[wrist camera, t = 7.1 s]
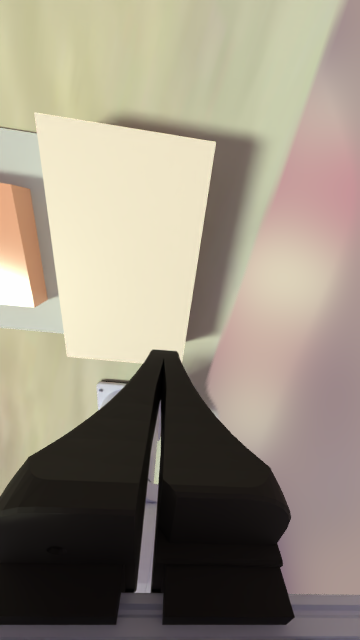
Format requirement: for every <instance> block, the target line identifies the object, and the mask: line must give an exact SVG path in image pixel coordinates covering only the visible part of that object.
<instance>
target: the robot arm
mask: <svg viewBox="0 0 360 640" xmlns="http://www.w3.org/2000/svg"><path fill="white" fill-rule="evenodd" d="M97 399H98V411H97V412H96V413H95V414H93V415H92V416H91V417H90V418H88V419H87V420H85V421H84V422H83V423H81V424H80V425H79V426H77V427H76V428H74V429H73V430H72V431H70V432H69V433H67V434H66V435H64V436H63V437H61V438H60V439H58V440H56V441H55V442H53V443H52V444H50V445H48V446H47V447H45V448H43V449H42V450H40V451H38V452H37V453H35V454H33V455H32V456H30V457H28V459H27V460H26V461H25V463H24V464H23V465H22V467H21V468H20V469H19V470H18V472H17V473H16V474H15V476H14V477H13V478H12V480H11V481H10V482H9V484H8V485H7V487H6V488H5V490H4V492H3V493H2V495H1V496H0V640H360V595H319V594H318V595H317V594H314V595H312V594H288V593H287V589H286V586H285V583H284V579H283V576H282V573H281V569H280V567H281V566H283V562H282V557H281V554H280V551H279V548H278V545H277V542H278V541H279V539H280V538H281V536H282V535H283V533H284V532H285V530H286V529H287V527H288V524H289V522H290V519H291V515H290V510H289V507H288V505H287V502H286V500H285V497H284V495H283V493H282V491H281V488H280V486H279V484H278V482H277V480H276V478H275V476H274V474H273V473H272V471H271V469H270V467H269V466H268V465H266V464H265V463H264V462H263V461H262V460H260V459H259V458H258V457H257V456H256V455H255V454H253V453H252V452H251V451H250V450H249V449H247V448H246V447H245V446H244V445H243V444H242V443H241V442H240V441H238V439H237V438H236V437H234V436H233V435H232V434H231V433H230V431H229V430H228V429H227V428H226V427H225V426H224V425H223V424H222V423H221V422H220V421H219V420H218V418H217V417H216V416H215V415H214V414H213V413H212V411H211V410H210V409H209V408H208V406H207V405H206V404H205V402H204V401H203V400H202V398H201V397H200V395H199V394H198V392H197V391H196V389H195V387H194V386H193V384H192V382H191V381H190V379H189V377H188V375H187V373H186V371H185V369H184V367H183V365H182V363H181V360H180V357H179V354H178V352H177V351H168V350H155V349H153V350H151V351H150V353H149V355H148V357H147V359H146V360H145V362H144V363H143V364H142V366H141V367H140V368H139V370H138V371H137V372H136V374H135V375H134V376H133V377H132V378H131V379H130V381H129V382H128V383H127V384H125V383H113V382H98V384H97ZM160 434H161V457H160V471H159V484H154V473H155V462H156V450H157V441H159V440H160Z"/></svg>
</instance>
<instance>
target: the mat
mask: <svg viewBox="0 0 360 640" xmlns="http://www.w3.org/2000/svg"><path fill="white" fill-rule="evenodd" d="M0 183H5V184H12V185H16V186H20V187H24V188H28V189H30V192H31V198H32V204H33V211H34V217H35V223H36V229H37V236H38V242H39V248H40V254H41V261H42V267H43V273H44V279H45V285H46V292H47V298H48V300H47V301H45V302H43V303H42V304H40V305H38V306H36V307H35V308H33V307H24V306H14V305H4V304H0V328H10V329H20V330H30V331H41V332H51V333H62V334H64V330H63V323H62V315H61V308H60V300H59V293H58V285H57V278H56V271H55V263H54V256H53V248H52V241H51V233H50V226H49V218H48V211H47V204H46V196H45V189H44V181H43V174H42V166H41V159H40V151H39V144H38V137H37V133H30V132H24V131H17V130H11V129H5V128H0Z"/></svg>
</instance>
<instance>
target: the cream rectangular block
mask: <svg viewBox="0 0 360 640" xmlns="http://www.w3.org/2000/svg"><path fill="white" fill-rule="evenodd" d="M34 114H35V122H36V129H37V137H38V144H39V151H40V159H41V166H42V174H43V181H44V189H45V196H46V204H47V211H48V218H49V226H50V233H51V241H52V248H53V256H54V263H55V271H56V278H57V285H58V293H59V300H60V308H61V315H62V323H63V330H64V337H65V345H66V352H67V357H75V358H87V359H98V360H109V361H120V362H132V363H144V362H145V360H146V359H147V357H148V355H149V353H150V351H151V350H153V349H155V350H168V351H177V352H178V354H179V357H180V360H181V363H182V360H183V353H184V347H185V341H186V334H187V328H188V321H189V315H190V308H191V302H192V295H193V289H194V282H195V276H196V269H197V263H198V256H199V250H200V243H201V237H202V230H203V224H204V217H205V211H206V205H207V198H208V192H209V185H210V179H211V172H212V166H213V159H214V153H215V146H216V142H214V141H207V140H201V139H195V138H189V137H183V136H177V135H171V134H164V133H158V132H152V131H146V130H140V129H134V128H128V127H122V126H115V125H109V124H103V123H97V122H91V121H85V120H79V119H72V118H66V117H60V116H54V115H48V114H42V113H36V112H34Z"/></svg>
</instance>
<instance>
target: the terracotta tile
mask: <svg viewBox="0 0 360 640" xmlns="http://www.w3.org/2000/svg"><path fill="white" fill-rule="evenodd" d="M47 300H48V298H47V292H46V285H45V279H44V273H43V267H42V261H41V254H40V248H39V242H38V236H37V229H36V223H35V217H34V211H33V204H32V198H31V192H30V189H28V188H24V187H20V186H16V185H12V184H5V183H0V304H4V305H14V306H24V307H33V308H35V307H36V306H38V305H40V304H42V303H43V302H45V301H47Z"/></svg>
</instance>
